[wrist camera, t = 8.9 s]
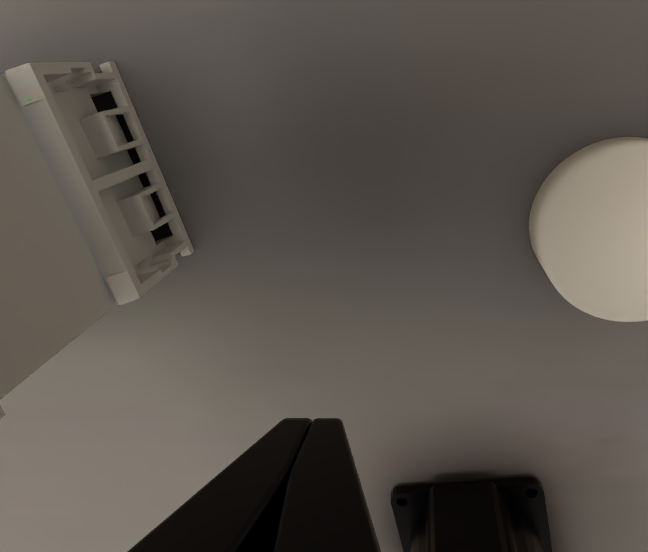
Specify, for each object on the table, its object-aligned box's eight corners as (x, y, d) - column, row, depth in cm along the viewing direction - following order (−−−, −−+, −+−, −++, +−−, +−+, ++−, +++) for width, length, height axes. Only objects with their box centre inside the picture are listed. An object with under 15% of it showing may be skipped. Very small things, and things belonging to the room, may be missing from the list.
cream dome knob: (733, 241, 18) (776, 265, 16) (575, 319, 20) (594, 350, 18) (657, 100, 17) (692, 104, 15) (498, 197, 19) (508, 213, 17)
